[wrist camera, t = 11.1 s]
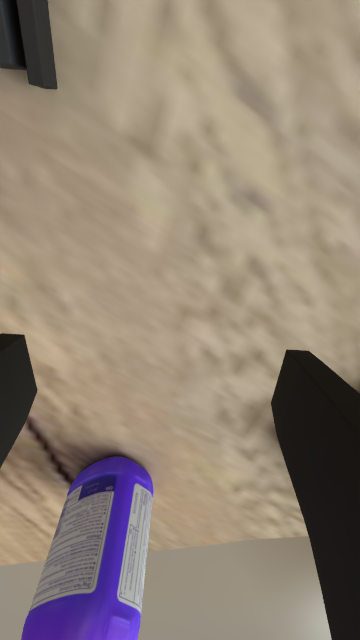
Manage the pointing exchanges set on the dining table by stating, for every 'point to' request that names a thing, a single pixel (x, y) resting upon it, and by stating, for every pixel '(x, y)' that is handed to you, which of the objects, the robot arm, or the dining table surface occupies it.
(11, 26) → the connector pad
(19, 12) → the base pad
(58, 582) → the bottle
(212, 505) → the dining table surface
